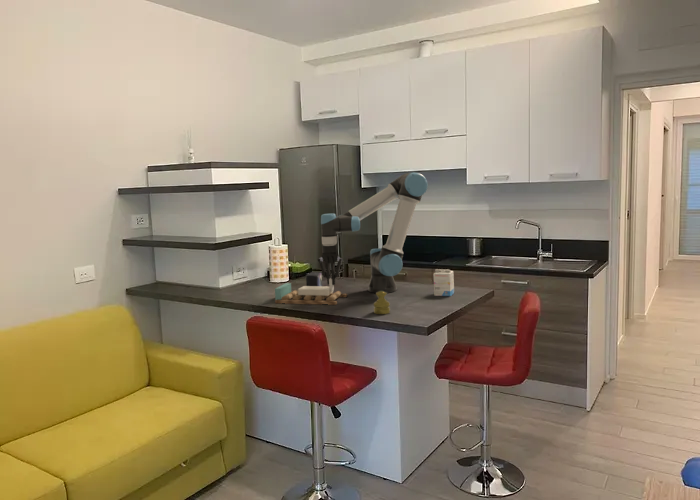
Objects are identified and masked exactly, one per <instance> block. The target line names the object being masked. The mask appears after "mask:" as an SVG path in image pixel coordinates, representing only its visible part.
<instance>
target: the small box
mask: <svg viewBox="0 0 700 500" xmlns="http://www.w3.org/2000/svg"><path fill="white" fill-rule="evenodd" d="M322 278H323V273H322V271H320V272H318V271H310V272H309V273H308V274H306V275H305V281H306V282H305V283H306V284H305V286H323V279H322Z"/></svg>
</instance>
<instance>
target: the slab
mask: <svg viewBox="0 0 700 500" xmlns="http://www.w3.org/2000/svg"><path fill="white" fill-rule="evenodd" d="M297 291H298V295H323V296H328V295H330V294H331V293H334V291H333V292H330V289H329V286H328V285H326V286H324V285H322V286H306V285H303V286H301V287H299V288H297Z"/></svg>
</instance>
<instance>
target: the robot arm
mask: <svg viewBox="0 0 700 500" xmlns="http://www.w3.org/2000/svg"><path fill="white" fill-rule="evenodd" d="M428 186H429V185H428V180H427V178H426V177H425V176H424V175H423V174H421V173H419V172H406V173H404V174H401V175H400V176H399V177H397V178H396V179H394V180H393V181H392V182H389V183H388V184H387V186H386V187H385V188H384V189H382V190H380V191H378V192H377V193H376V194H374V195H372V196H370V197H369V198H367V199H366V200H364V201H361V202H360V203H359V204H357V205H356V206H354V207H353V208H351V209H349V210H347V211H346V212H345V213H342V214H340V215H338V216H336V213H323V214H321V216H320V228H321V229H320V231H321V251H322V255H321V256H320V257H319V258H317V262H318V264H319V266H320V269H321V272H322V278H326V281H327V283H326V284H327V286H328V285H329V289H330V292H333V293H334V292H335V286H334V285H336V279H337V278H338V277H339V276H340V272H341V265H342V262H343V261H344V259H343V257H340V256H339V253H338V245H337V243H338V236H337V235H338V234H337V233H346V232H347V233H350V232H353V233H354V232H358V231H360V229H361V221H362V220H363V219H365V218H367V217H368V216H370V215H372V214H374V213H375V212H376V211H378V210H379V209H381V208H383V207H385V206H387V205H388V204H389V203H391V202H393V201H395V200H399V201H398V204H397V205H398V206H397V208H396V211H395V214H394V217H393V220H392V224H391V227H390V231H389V233H388V236H387V240H386V243H385V244H384V245H382V247H381V248H372V249H370V251H369V256H370V280H369V283H368V292H370V293H374V294H376V293H377V292H379V291H383V292H386V293H387V294H388V293H392V292H393V293H394V292H396V291H397V284H396V281H395V279H394V276H397V275H399V273H400V272H401V271H402V269H403V265H404V264H403V257H404V251H403V247H404V243H405V241H406V239H407V238H406V237H407V234H408V232H409V229H410V224H411V222H412V219H413V215H414V212H415V209H416V206H417V205H418V204H419V203H420V202H421V200H422V197H423V195H424V194H425V193H426V192H427V190H428V188H429V187H428ZM336 261H337V264H336ZM324 262H325V263H324ZM325 265H326V266H325Z"/></svg>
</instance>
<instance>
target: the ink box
mask: <svg viewBox="0 0 700 500" xmlns="http://www.w3.org/2000/svg"><path fill="white" fill-rule="evenodd" d="M434 271H435V272H433V276H432V277H433V296H435V297H436V296H437V297H452V295H454V293H455V283H454V282H455V280H454V279H455V278H454V277H455V275H454V270H450V268H447V269H446V268H445V269H443V268H441V269H440V268H439V269H438V268H435V269H434Z"/></svg>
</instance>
